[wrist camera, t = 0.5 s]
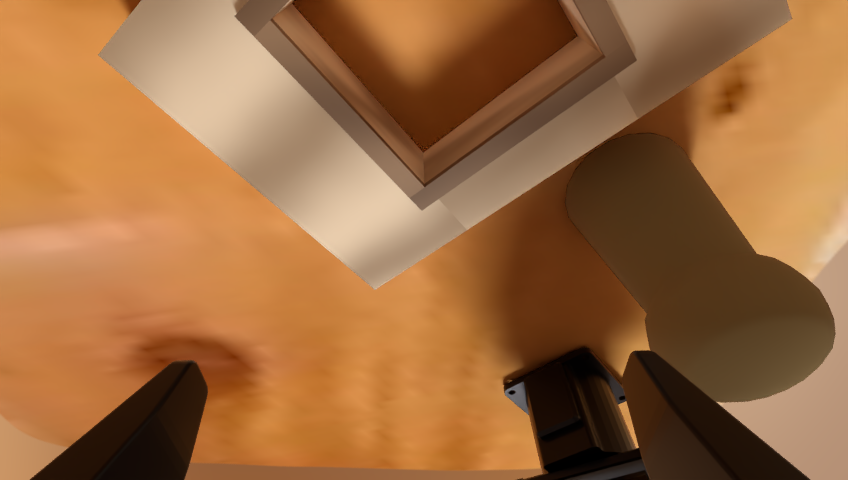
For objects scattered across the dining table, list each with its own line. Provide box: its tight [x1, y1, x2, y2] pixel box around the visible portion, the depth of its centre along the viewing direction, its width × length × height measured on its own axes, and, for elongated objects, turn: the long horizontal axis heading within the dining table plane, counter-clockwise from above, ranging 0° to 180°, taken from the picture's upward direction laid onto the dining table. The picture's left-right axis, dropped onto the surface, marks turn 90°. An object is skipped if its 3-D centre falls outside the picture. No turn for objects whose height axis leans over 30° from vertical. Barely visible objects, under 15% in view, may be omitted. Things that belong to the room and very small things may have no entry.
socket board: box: [98, 0, 792, 290], centre depth 17 cm, size 14×19×3 cm
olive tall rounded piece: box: [565, 133, 835, 402], centre depth 18 cm, size 6×6×11 cm
